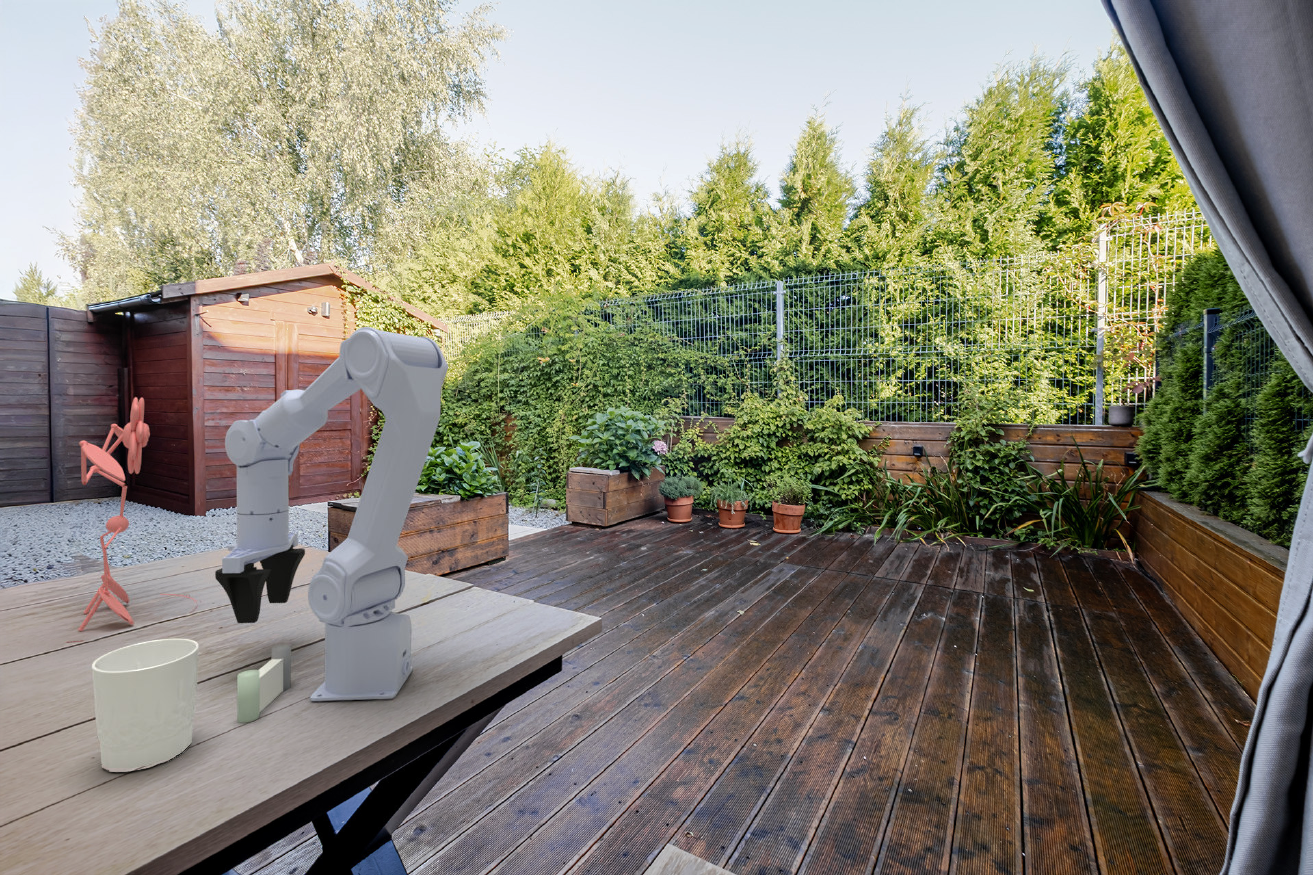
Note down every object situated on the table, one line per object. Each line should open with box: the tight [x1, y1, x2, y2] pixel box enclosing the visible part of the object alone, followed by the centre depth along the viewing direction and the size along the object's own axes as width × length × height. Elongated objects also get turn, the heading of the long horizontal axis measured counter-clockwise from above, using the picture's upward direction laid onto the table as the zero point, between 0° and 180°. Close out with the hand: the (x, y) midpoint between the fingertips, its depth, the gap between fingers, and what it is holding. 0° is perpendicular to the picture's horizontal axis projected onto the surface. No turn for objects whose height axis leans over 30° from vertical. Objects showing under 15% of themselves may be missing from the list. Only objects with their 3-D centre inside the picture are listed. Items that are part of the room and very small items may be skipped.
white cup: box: [91, 638, 200, 768], centre depth 57 cm, size 8×8×10 cm
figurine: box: [66, 396, 202, 644], centre depth 93 cm, size 15×26×35 cm, turn 41°
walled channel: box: [236, 643, 292, 724], centre depth 67 cm, size 14×9×5 cm, turn 97°
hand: (263, 612), depth 78 cm, fingers open, 7 cm apart
